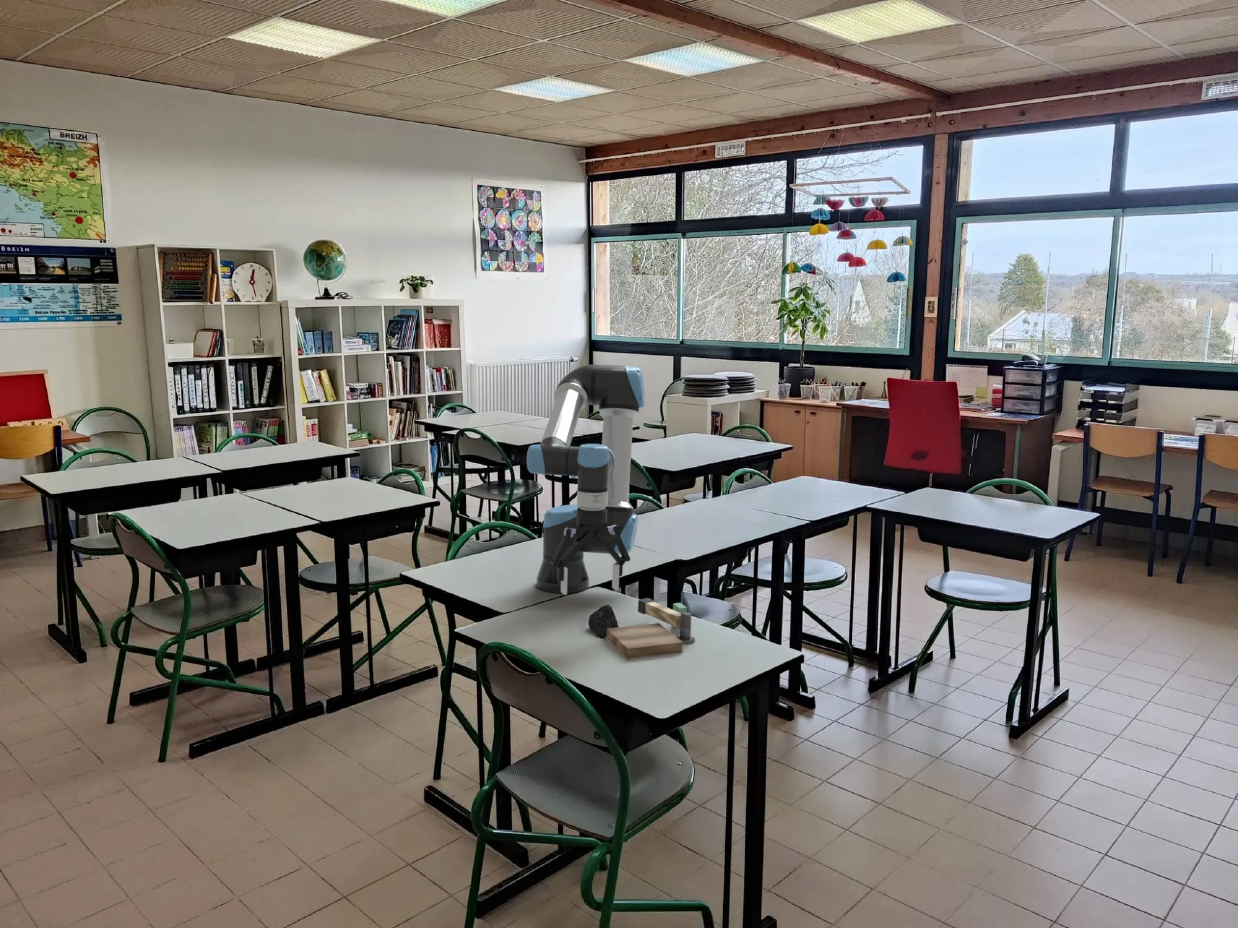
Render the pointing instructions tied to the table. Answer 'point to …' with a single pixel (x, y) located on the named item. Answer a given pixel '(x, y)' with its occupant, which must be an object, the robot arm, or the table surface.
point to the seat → (650, 639)
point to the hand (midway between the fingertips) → (589, 591)
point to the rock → (602, 621)
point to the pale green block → (679, 609)
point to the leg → (659, 612)
